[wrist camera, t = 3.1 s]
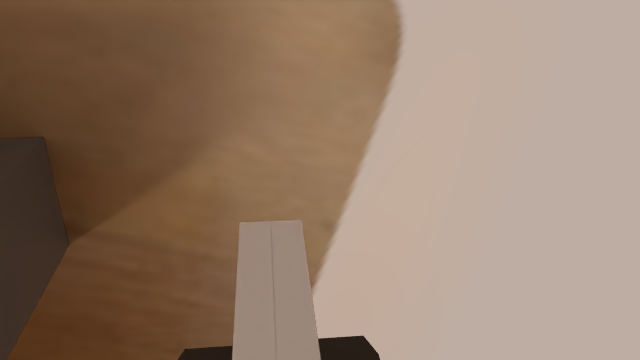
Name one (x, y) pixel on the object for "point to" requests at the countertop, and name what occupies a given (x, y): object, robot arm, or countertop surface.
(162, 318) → the countertop surface
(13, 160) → the grey rectangular block
